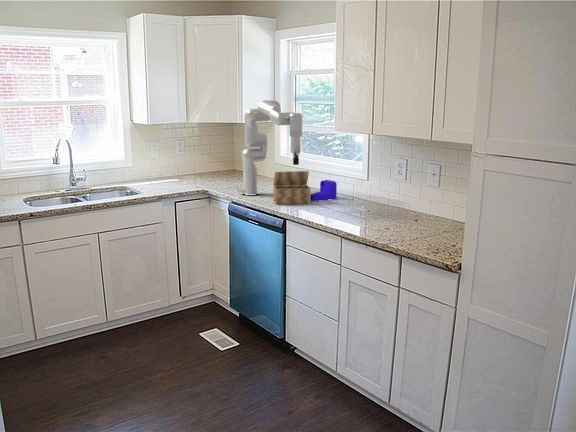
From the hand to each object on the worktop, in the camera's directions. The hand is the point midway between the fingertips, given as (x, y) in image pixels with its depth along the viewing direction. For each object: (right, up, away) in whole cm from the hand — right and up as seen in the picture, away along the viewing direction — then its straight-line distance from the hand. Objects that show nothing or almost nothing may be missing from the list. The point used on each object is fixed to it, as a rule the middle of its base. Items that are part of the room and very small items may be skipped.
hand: (295, 164), depth 319 cm
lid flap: (-3, -7, +20) cm, 21 cm away
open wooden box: (-3, -22, +21) cm, 31 cm away
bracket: (+17, -20, +31) cm, 41 cm away
